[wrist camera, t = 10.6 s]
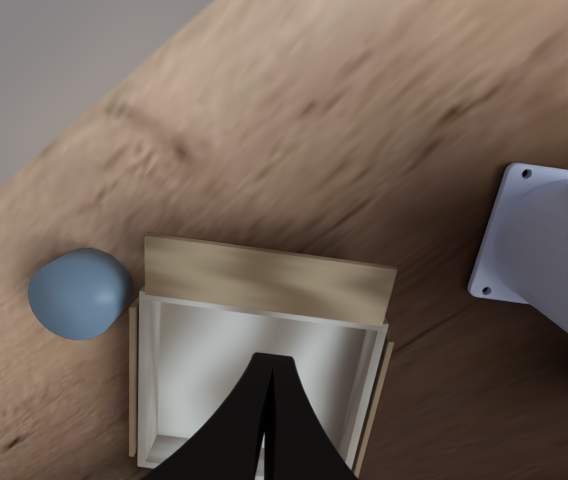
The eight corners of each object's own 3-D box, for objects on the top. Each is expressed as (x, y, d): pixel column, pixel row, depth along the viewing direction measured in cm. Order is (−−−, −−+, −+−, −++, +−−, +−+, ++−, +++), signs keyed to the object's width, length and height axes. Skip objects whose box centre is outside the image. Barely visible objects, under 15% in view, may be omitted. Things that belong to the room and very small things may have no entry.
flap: (380, 322, 20) (395, 266, 18) (381, 326, 19) (397, 269, 18) (147, 290, 20) (147, 232, 18) (144, 294, 19) (144, 235, 18)
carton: (386, 303, 23) (398, 327, 20) (347, 459, 27) (353, 496, 24) (148, 271, 22) (129, 291, 20) (145, 433, 26) (128, 467, 24)
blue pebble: (117, 240, 22) (96, 252, 20) (143, 312, 23) (127, 331, 21) (42, 256, 22) (13, 270, 20) (72, 326, 24) (48, 346, 22)
